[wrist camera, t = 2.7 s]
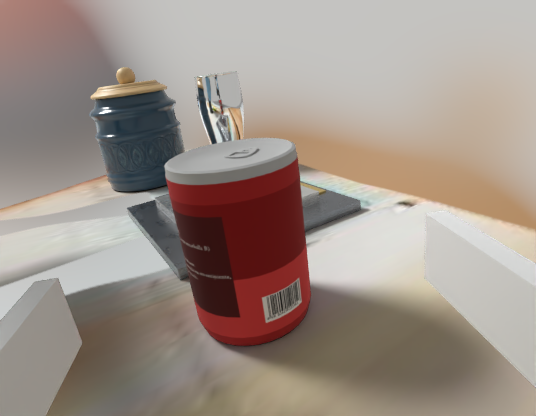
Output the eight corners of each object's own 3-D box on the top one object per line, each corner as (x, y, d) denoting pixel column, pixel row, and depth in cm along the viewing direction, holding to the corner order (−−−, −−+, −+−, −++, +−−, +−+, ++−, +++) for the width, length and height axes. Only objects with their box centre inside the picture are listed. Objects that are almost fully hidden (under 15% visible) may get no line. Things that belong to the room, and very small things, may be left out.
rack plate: (180, 279, 31) (174, 256, 30) (128, 215, 47) (124, 199, 46) (360, 209, 39) (359, 189, 39) (264, 175, 56) (262, 161, 55)
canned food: (318, 277, 28) (305, 133, 24) (303, 355, 21) (281, 167, 17) (223, 276, 30) (197, 142, 26) (180, 346, 23) (135, 176, 19)
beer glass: (228, 177, 58) (211, 74, 52) (202, 172, 63) (184, 78, 57) (260, 165, 62) (247, 69, 57) (233, 161, 67) (219, 73, 62)
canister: (201, 166, 67) (181, 60, 60) (169, 191, 55) (140, 62, 48) (136, 171, 70) (110, 70, 63) (93, 195, 58) (56, 75, 51)
